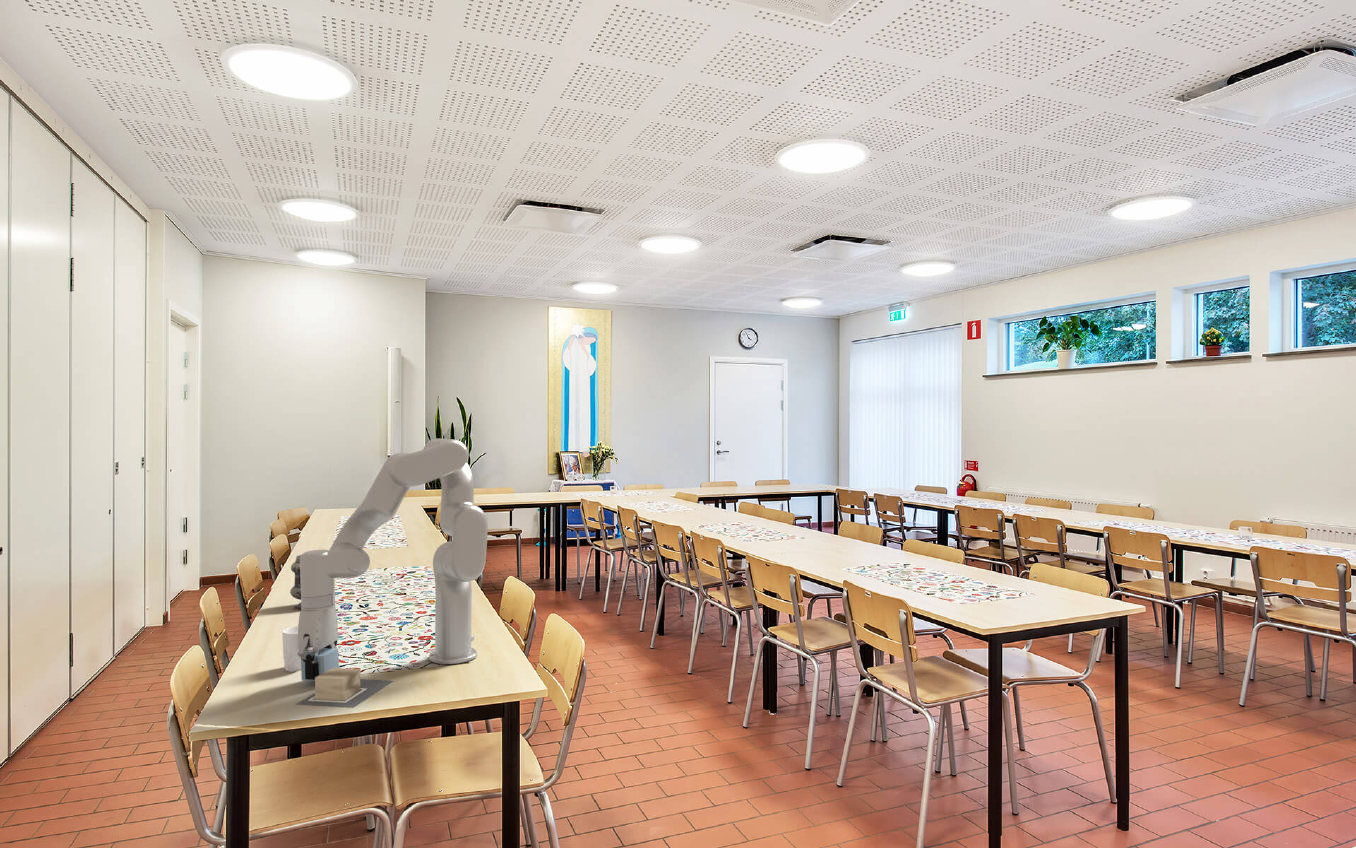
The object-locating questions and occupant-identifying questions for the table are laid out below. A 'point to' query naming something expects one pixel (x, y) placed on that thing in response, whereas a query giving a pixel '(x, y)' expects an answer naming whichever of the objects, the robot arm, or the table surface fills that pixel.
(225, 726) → the table surface
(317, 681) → the base block
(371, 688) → the mat
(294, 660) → the white cup
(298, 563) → the apothecary jar
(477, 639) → the table surface
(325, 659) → the blue block
